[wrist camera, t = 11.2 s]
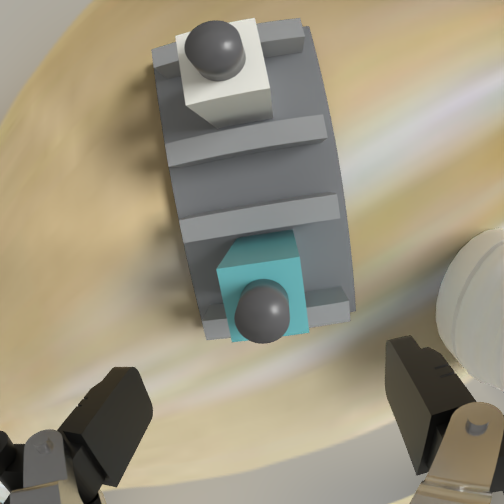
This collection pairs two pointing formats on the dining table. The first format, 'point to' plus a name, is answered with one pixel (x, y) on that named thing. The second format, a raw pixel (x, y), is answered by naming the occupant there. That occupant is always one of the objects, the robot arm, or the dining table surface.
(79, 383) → the dining table surface
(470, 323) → the honey pot
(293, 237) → the teal plug
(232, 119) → the white plug
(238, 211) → the comb board
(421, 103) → the dining table surface
